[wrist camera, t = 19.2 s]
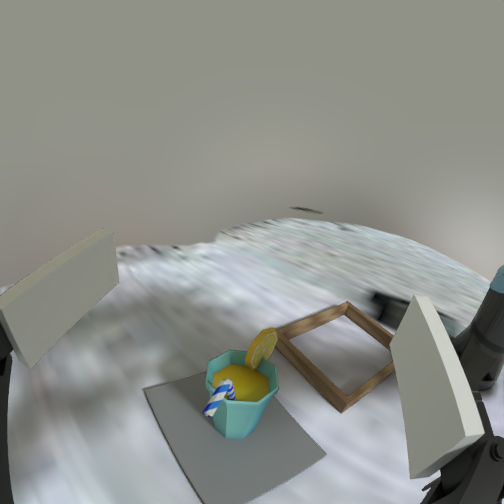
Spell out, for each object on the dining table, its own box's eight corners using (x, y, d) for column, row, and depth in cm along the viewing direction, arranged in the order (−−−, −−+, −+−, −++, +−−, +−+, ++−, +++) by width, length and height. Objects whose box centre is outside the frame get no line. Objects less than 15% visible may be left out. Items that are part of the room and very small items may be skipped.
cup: (237, 482, 23) (256, 430, 17) (177, 455, 25) (161, 387, 19) (277, 400, 35) (304, 320, 29) (226, 381, 37) (236, 298, 31)
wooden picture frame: (344, 310, 58) (347, 301, 57) (406, 358, 45) (412, 349, 44) (270, 341, 47) (273, 331, 46) (341, 413, 34) (347, 404, 33)
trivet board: (242, 362, 42) (242, 358, 42) (324, 456, 28) (327, 454, 27) (145, 393, 34) (144, 389, 33) (213, 517, 19) (213, 516, 19)
